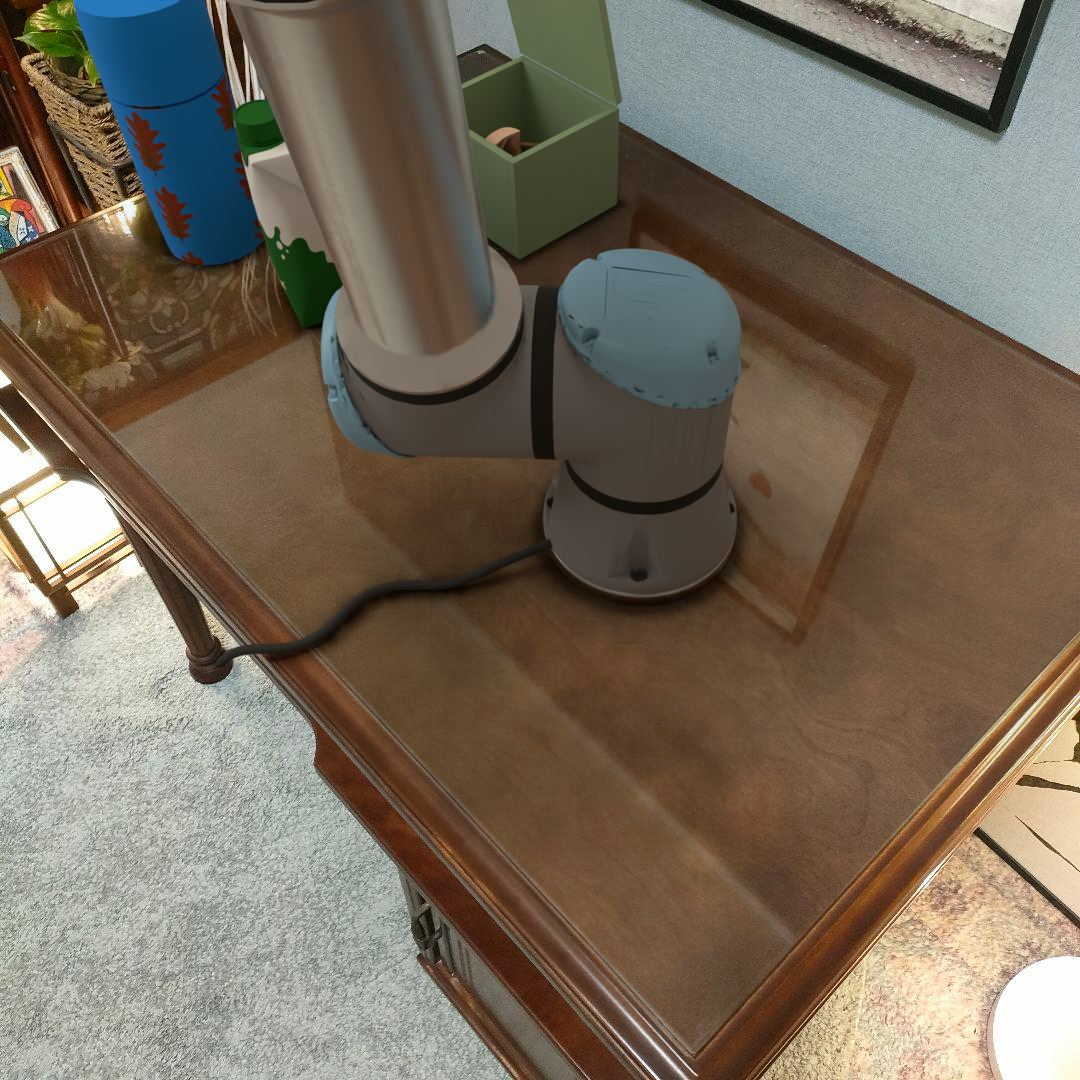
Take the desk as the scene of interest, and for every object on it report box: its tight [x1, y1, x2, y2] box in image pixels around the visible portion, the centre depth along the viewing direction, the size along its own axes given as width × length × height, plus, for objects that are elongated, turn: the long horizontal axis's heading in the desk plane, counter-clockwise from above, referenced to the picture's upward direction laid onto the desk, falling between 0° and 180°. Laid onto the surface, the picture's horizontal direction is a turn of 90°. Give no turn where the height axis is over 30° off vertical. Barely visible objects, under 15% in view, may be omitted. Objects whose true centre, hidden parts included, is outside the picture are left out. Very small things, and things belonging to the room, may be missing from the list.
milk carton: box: [233, 98, 343, 329], centre depth 93 cm, size 9×9×20 cm
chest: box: [461, 55, 620, 260], centre depth 105 cm, size 14×15×11 cm
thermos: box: [72, 0, 265, 266], centre depth 98 cm, size 11×11×25 cm
